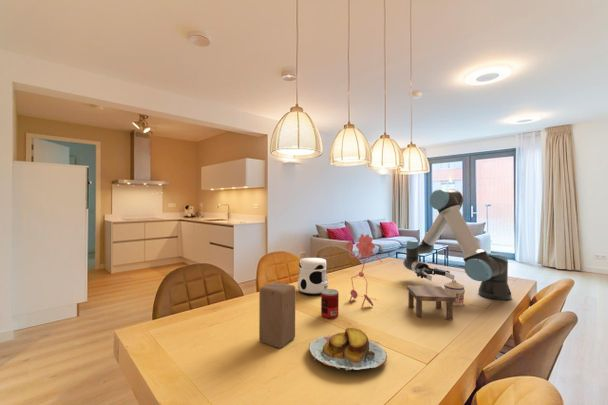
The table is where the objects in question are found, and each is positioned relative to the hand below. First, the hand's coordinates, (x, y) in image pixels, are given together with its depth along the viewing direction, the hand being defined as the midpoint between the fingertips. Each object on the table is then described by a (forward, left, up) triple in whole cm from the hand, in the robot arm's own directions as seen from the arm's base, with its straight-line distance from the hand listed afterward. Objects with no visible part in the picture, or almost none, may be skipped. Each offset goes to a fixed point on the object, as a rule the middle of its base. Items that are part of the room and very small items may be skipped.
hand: (442, 277), depth 156 cm
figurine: (+43, +15, -10) cm, 47 cm away
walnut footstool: (+15, +25, -10) cm, 31 cm away
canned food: (+61, +34, -10) cm, 71 cm away
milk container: (+71, +1, -10) cm, 72 cm away
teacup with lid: (-3, +10, -10) cm, 15 cm away
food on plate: (+55, +67, -11) cm, 87 cm away
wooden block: (+80, +59, -10) cm, 100 cm away
